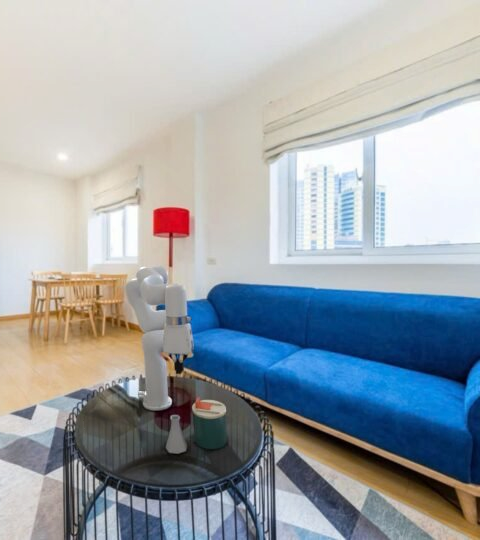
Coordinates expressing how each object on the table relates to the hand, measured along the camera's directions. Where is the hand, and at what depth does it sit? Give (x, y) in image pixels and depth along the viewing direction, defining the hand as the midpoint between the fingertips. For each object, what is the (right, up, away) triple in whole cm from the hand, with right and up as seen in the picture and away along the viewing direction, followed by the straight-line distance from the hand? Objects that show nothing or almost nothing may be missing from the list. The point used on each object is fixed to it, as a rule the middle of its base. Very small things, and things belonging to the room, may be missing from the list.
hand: (179, 372), depth 101 cm
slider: (+8, -11, -2) cm, 14 cm away
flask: (-1, -23, -6) cm, 23 cm away
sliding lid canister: (+10, -22, -3) cm, 24 cm away
